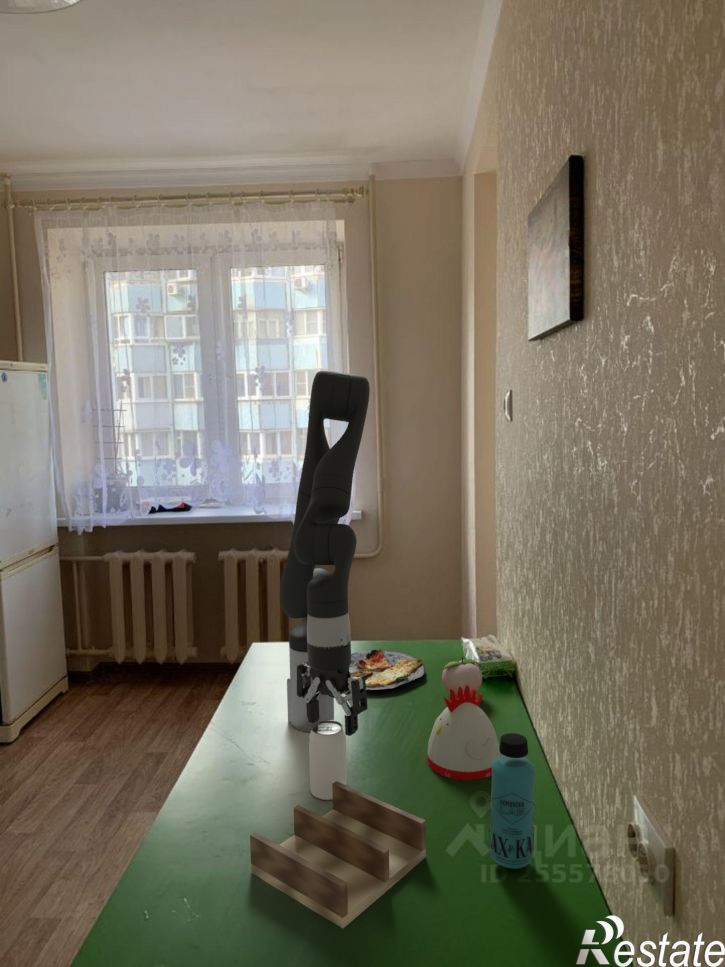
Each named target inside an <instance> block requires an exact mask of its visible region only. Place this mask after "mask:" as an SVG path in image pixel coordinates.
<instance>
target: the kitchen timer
mask: <svg viewBox="0 0 725 967" xmlns="http://www.w3.org/2000/svg"><path fill="white" fill-rule="evenodd" d="M476 696H477V697H476ZM443 700H444V701H443V702H445V705H446V708H444V710H443V711H442V712H441V713H440V714H439V715H438V716H437V717H436V718H435V720H434V722H433V723H434V724H433V727H432V730H431V733H430V736H429V739H428V743H427V751H426V752H427V753H426V761H427V763H428V766H429V768H430V769H432V771H434V773H437V774H439V775H440V776H443V777H447V778H449V779H453V780H459V779H461V781H472V780H471V779H477V780H481V778H483V779H485V778H488V777H490V776H491V777H492V763H493V761H494V760H495V759H496V758H498V757H499V756H501V753H500V751H499V746H500V742H499V740H498V736H497V734H496V730H495V728H494V726H493V724H492V722H491V720H490V718H489V716H488V715H487V714H486V712H484V710H483V709H482V708H481V707H480V705H481V702H482V700H483V694H482V693H481V692H480V693H478V695H477V692H476V690H475V689H473V690H472V691H471V694H470V689H469V686H468V685H466V686H465V690H464V695H463V689H462V687H460V686H459V688H458V693H457V697H456V696H455V693H454V691H453V690H452V689H450V693H449V699H448V698H447V697H445V696H443Z"/></svg>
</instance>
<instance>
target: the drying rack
mask: <svg viewBox="0 0 725 967" xmlns="http://www.w3.org/2000/svg"><path fill="white" fill-rule="evenodd" d="M332 792H333V800H332V809H331V810H329V811H328V812H326V813H325V814H323V815H320V814H317V813H315V812H314V811H311V810H310V809H307V808H305V807H303V806H302V805H300V804H297V805H296V806H294V807H293V827H294V828H293V835H292V836H290V837H288V838H287V839H285V840H284V841H282V842H281V843H280V844H279V843H276V842H275V841H273V840H271V839H269V838H267V837H266V836H263V835H262V834H260V833H258V832H256V831H253V833H251V834H250V835H249V847H250V872H251V874H252V875H254V876H255V877H257V878H259V879H261V880H262V881H264V882H266V883H267V884H268V885H270V886H272V887H274V888H275V889H276V890H278V891H281V892H282V893H284V894H285V895H287V896H289V897H290V898H292V899H293V900H295V901H297V902H298V903H300V904H301V905H304V906H305V907H306V908H308V909H310V910H311V911H313V912H315V913H317V914H318V915H320V916H321V917H323V918H325V919H326V920H328V921H329V922H331V923H333V924H334V925H336V926H338V927H339V928H341V929H345V928H346V927H347V926H348V925H349V924H350V923H352V922H353V921H355V919H356V918H357V917H358V916H359V915H361V914H362V913H363V912H365V910H366V909H368V908H369V907H370V906H371V905H372V904H373V903H375V902H376V901H377V900H378V899H380V897H381V896H383V895H385V893H386V892H388V890H390V889H391V888H392V887H393V886H394V885H395V884H396V883H398V882H399V881H401V879H403V878H404V877H405V876H406V875H407V874H408V873H409V872H410V871H412V870H413V869H414V868H415V867H416V866H417V865H419V864H420V863H421V862H423V860H425V859H426V857H427V856H426V855H427V854H426V851H427V850H426V849H427V847H426V845H427V844H426V843H427V842H426V841H427V840H426V839H427V838H426V836H427V835H426V832H427V831H426V828H427V827H426V822H427V821H426V820H425V819H424V818H421V817H419V816H417V815H415V814H412V813H410V812H408V811H405V810H403V809H401V808H399V807H396V806H394V805H392V804H390V803H387V802H385V801H383V800H380V799H378V798H376V797H373V796H371V795H369V794H367V793H365V792H362V791H360V790H357V789H356V788H353V787H351V786H349V785H347V786H346V785H344V784H342V783H339V782H337V781H336V782H334V783H333V784H332Z"/></svg>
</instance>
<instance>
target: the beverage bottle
mask: <svg viewBox="0 0 725 967" xmlns="http://www.w3.org/2000/svg"><path fill="white" fill-rule="evenodd" d="M499 739H500V741H499V751H500V756H499V757H498V758H496V759H495V760H494V761H493V763H492V775H491V787H490V788H491V792H490V794H491V795H490V800H489V802H490V811H489V814H490V815H489V827H488V833H489V844H488V846H489V847H488V851H489V853H490V856H491V859H492V860H493V861H494V862H495V863H496V864H498V865H499V866H502V867H504V868H507V869H521V868H525V867H526V866H528V865H529V864H530V863H531V861H532V859H533V856H534V854H533V853H535V852H534V849H535V848H534V846H535V845H534V843H535V839H534V838H535V826H534V825H535V815H536V814H535V812H534V811H535V810H534V809H535V806H536V804H535V801H534V800H535V799H534V798H535V775H536V774H535V773H536V768H535V766H534V764H533V763H532V762H531V761H530V760H529V759H528V758H527V756H528V754H529V746H528V739H527V737H525V736H524V735H523V734H520V733H515V732H510V733H505V734H502V735H501V737H500V738H499Z"/></svg>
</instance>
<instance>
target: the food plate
mask: <svg viewBox="0 0 725 967" xmlns="http://www.w3.org/2000/svg"><path fill="white" fill-rule="evenodd" d="M351 670H352V671H351ZM349 671H350V674H351V676H352V677H360V676H364V677H365V681H366V691H371V692H372V691H373V690H375V691H376V690H377V691H379V690H388V689H395V688H397V687H399V686H402V685H406V684H407V683H411V682H412V681H415V680H417V679H418V678H419V679H420V678H422V677H423V676H424V675H425V673H426V670H425V664H424V663H423V660H422V659H420V658H416V657H414V656H413V655H410V654H408V653H403V652H400V651H393V650H384V649H383V650H382V649H381V648H380V649H373V650H366V651H360V652H358V651H357V652H354V653H351V664H350V667H349ZM349 685H350V684H349ZM350 687H351V686H350Z"/></svg>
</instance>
